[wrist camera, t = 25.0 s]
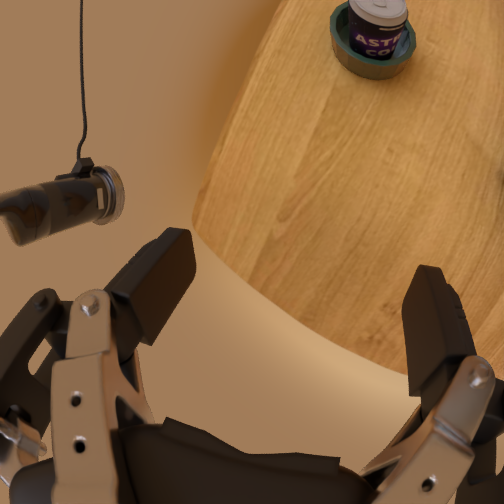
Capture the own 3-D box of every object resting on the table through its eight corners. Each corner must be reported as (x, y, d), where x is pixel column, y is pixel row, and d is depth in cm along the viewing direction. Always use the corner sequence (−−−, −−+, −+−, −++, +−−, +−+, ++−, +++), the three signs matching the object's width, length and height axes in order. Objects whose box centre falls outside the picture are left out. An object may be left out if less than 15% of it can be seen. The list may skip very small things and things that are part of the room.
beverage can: (348, 60, 25) (347, 14, 14) (349, 26, 23) (347, -26, 12) (392, 69, 24) (412, 28, 13) (392, 34, 22) (407, -14, 11)
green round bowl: (317, 40, 26) (311, 21, 21) (369, 9, 21) (371, -12, 16) (368, 93, 26) (373, 80, 21) (421, 60, 22) (432, 44, 17)
